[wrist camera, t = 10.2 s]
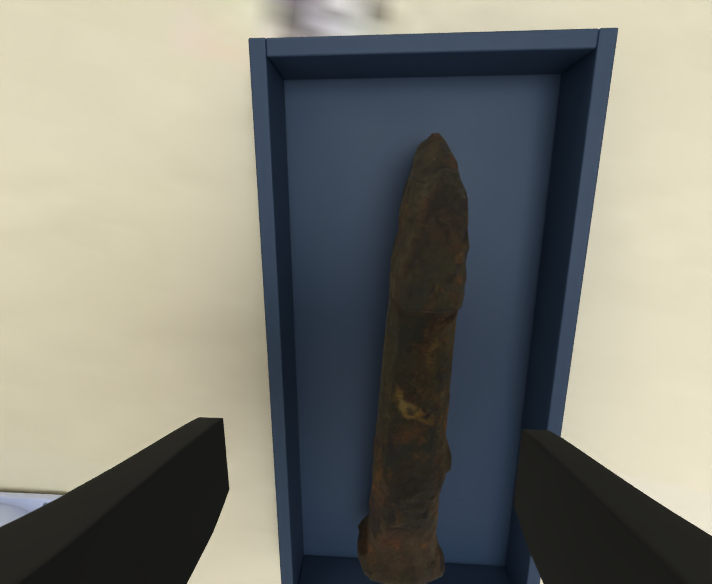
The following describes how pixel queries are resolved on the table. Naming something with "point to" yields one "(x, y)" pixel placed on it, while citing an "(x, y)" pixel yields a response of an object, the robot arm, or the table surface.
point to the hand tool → (417, 373)
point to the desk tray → (373, 263)
